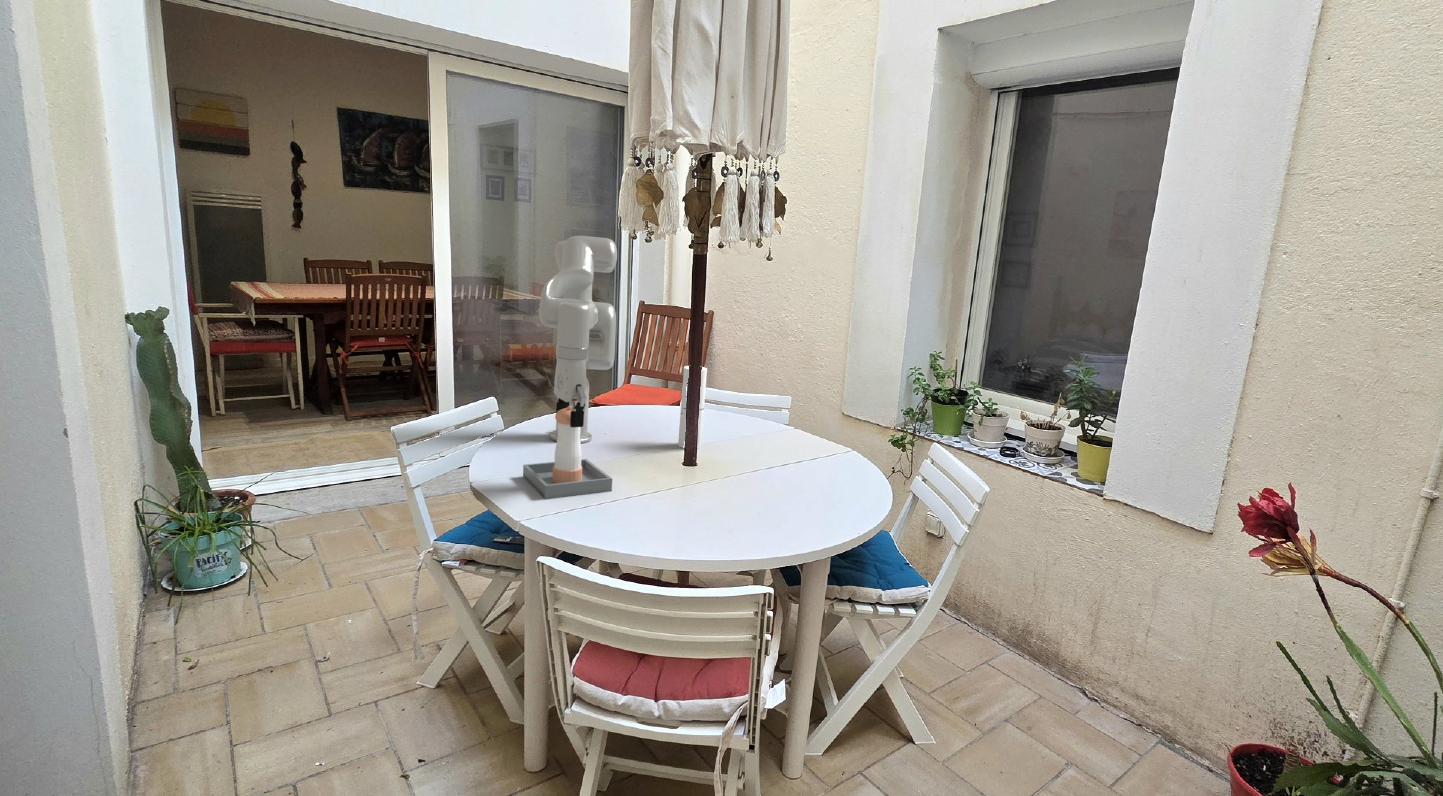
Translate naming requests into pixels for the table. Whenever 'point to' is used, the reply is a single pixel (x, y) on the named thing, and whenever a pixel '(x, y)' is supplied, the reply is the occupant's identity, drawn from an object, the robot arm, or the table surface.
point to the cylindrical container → (683, 406)
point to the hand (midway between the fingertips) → (569, 421)
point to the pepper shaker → (567, 450)
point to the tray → (590, 483)
